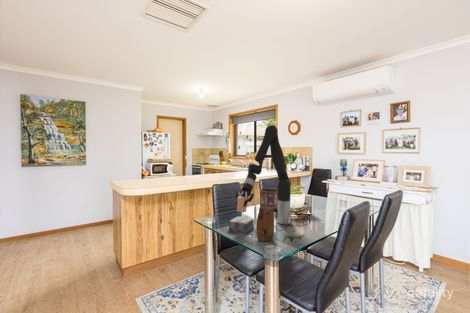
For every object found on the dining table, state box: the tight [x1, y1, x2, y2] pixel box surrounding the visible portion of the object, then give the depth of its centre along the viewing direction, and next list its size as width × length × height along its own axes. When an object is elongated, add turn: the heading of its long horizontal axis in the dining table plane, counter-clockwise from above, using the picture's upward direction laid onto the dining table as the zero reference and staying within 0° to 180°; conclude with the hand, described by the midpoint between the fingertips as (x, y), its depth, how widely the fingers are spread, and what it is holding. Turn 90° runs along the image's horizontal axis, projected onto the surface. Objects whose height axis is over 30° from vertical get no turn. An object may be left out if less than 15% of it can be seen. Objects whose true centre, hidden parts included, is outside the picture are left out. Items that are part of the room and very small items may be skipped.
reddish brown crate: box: [259, 188, 278, 211], centre depth 211 cm, size 18×18×18 cm
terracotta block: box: [236, 196, 247, 214], centre depth 159 cm, size 5×4×10 cm
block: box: [255, 206, 275, 242], centre depth 141 cm, size 11×8×20 cm
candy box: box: [304, 194, 313, 215], centre depth 199 cm, size 14×6×16 cm, turn 84°
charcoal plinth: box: [228, 215, 255, 234], centre depth 160 cm, size 13×13×6 cm
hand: (240, 205), depth 158 cm, fingers closed on terracotta block, 5 cm apart
